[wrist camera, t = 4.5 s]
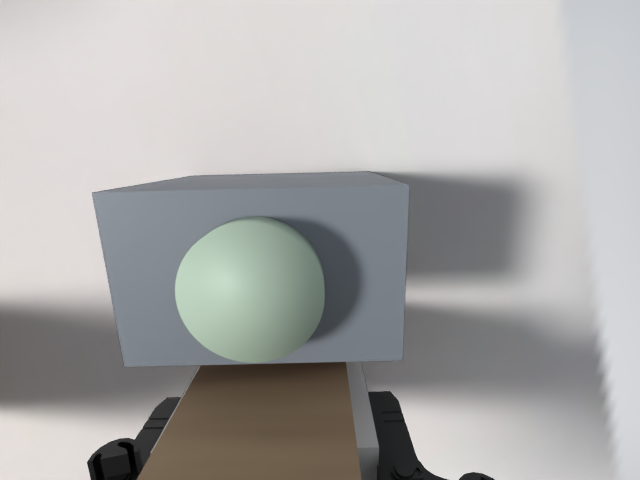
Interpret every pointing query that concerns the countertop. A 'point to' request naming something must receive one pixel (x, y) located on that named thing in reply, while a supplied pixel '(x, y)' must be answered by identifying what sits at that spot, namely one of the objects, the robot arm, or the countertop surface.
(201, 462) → the carriage
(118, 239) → the cabinet
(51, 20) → the countertop surface
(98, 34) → the countertop surface
